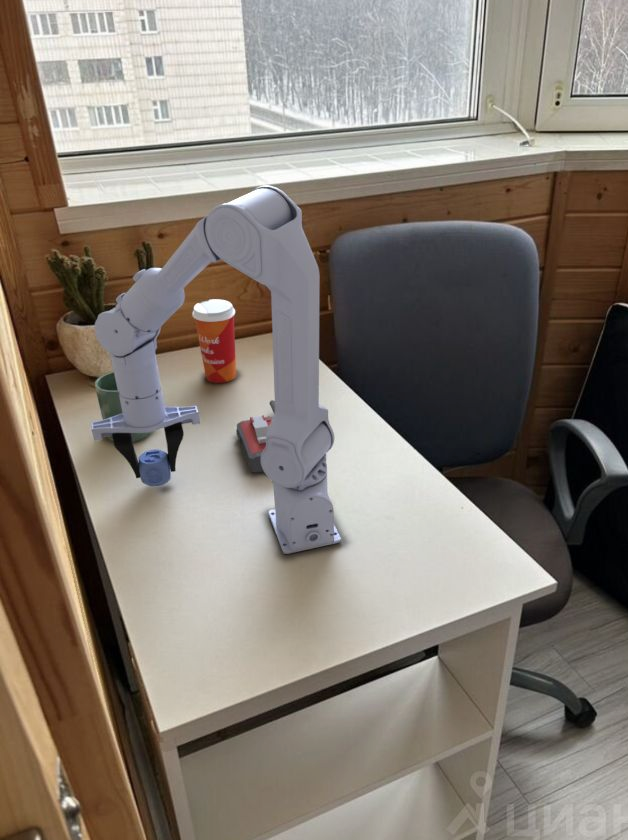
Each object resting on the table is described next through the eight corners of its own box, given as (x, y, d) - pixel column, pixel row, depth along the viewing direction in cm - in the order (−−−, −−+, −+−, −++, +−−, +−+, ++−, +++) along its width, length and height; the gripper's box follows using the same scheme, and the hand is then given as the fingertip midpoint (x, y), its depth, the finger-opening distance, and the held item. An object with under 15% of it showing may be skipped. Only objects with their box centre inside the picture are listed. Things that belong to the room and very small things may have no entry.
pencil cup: (153, 438, 119) (143, 387, 113) (107, 446, 117) (95, 394, 111) (149, 417, 124) (139, 367, 119) (105, 424, 122) (93, 374, 117)
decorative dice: (170, 469, 109) (166, 447, 107) (170, 484, 106) (166, 462, 104) (143, 473, 108) (138, 450, 106) (142, 488, 105) (138, 465, 103)
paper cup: (192, 375, 137) (182, 305, 129) (226, 363, 142) (219, 294, 134) (215, 390, 132) (206, 318, 125) (250, 377, 137) (243, 306, 129)
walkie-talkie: (307, 468, 112) (278, 407, 127) (306, 444, 109) (276, 385, 125) (251, 479, 109) (228, 415, 125) (249, 454, 107) (226, 392, 122)
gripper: (189, 369, 104) (201, 448, 112) (83, 384, 100) (103, 465, 108) (196, 391, 98) (208, 473, 106) (84, 408, 94) (105, 492, 102)
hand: (155, 471), depth 106 cm, fingers closed on decorative dice, 4 cm apart
